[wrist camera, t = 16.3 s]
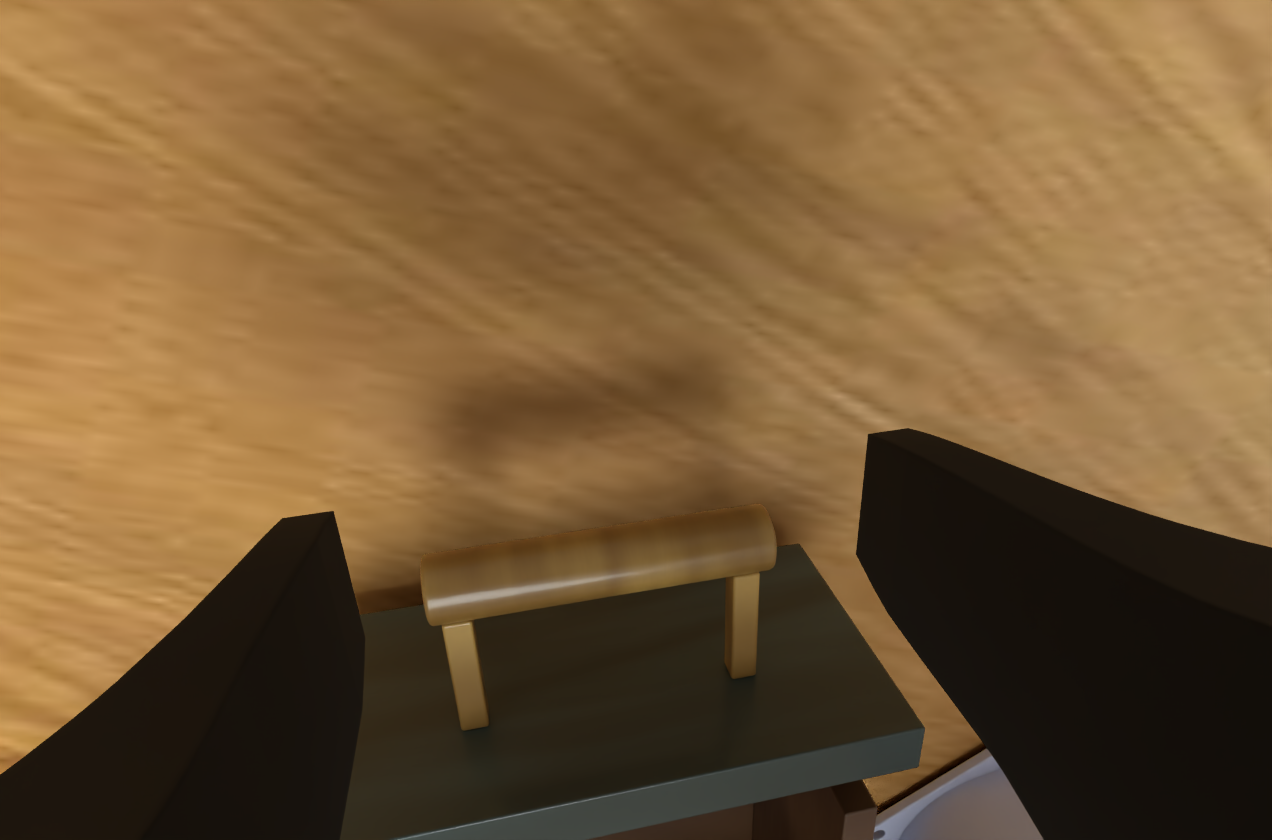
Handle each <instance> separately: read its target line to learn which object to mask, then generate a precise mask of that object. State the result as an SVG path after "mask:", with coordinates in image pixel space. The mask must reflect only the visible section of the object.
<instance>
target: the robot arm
mask: <svg viewBox="0 0 1272 840" xmlns="http://www.w3.org/2000/svg"><path fill="white" fill-rule="evenodd" d="M856 555H857V557H858V559H859V561H860V563H861V565H862V567H863V568H864V570H865V572H866V574H867V576H868V578H869V580H870V582H871V584H872V586H873V588H874V590H875V591H876V593H877V595H878V597H879V599H880V600H881V602H882V604H883V606H884V607H885V609H886V611H887V613H888V614H889V615H890V617H891V618H892V620H893V621H894V623H895V624H896V625H897V627H898V628H899V630H900V631H901V632H902V634H903V635H904V636H905V638H906V639H907V641H908V642H909V643H910V645H911V646H912V647H913V649H914V650H915V652H916V653H917V654H918V656H919V657H920V658H921V660H922V661H923V662H924V664H925V665H926V666H927V668H928V669H929V670H930V672H931V673H932V675H933V676H934V677H935V679H936V680H937V681H938V683H939V684H940V685H941V687H942V688H943V689H944V691H945V692H946V693H947V695H948V696H949V697H950V699H951V700H952V701H953V703H954V704H955V705H956V707H957V708H958V709H959V711H960V712H961V713H962V715H963V716H964V718H965V719H966V720H967V722H968V723H969V724H970V726H971V727H972V728H973V730H974V731H975V732H976V734H977V735H978V736H979V738H980V739H981V740H982V742H983V743H984V745H985V746H986V749H985V750H983V751H981V752H980V753H978V754H976V755H975V756H973V757H971V758H970V759H968V760H967V761H965V762H963V763H962V764H960V765H958V766H957V767H955V768H953V769H952V770H950V771H948V772H947V773H945V774H944V775H942V776H940V777H939V778H937V779H935V780H934V781H932V782H930V783H929V784H927V785H925V786H924V787H922V788H921V789H919V790H917V791H916V792H914V793H912V794H911V795H909V796H907V797H906V798H904V799H902V800H901V801H899V802H898V803H896V804H894V805H893V806H891V807H889V808H888V809H886V810H884V811H883V812H881V813H879V814H878V815H877V816H876V823H875V830H874V836H873V840H1272V548H1271V547H1267V546H1263V545H1259V544H1254V543H1250V542H1246V541H1242V540H1238V539H1235V538H1231V537H1227V536H1224V535H1220V534H1216V533H1213V532H1209V531H1205V530H1202V529H1198V528H1194V527H1191V526H1187V525H1183V524H1180V523H1176V522H1173V521H1170V520H1166V519H1163V518H1160V517H1157V516H1153V515H1150V514H1147V513H1144V512H1141V511H1138V510H1135V509H1132V508H1129V507H1126V506H1123V505H1120V504H1117V503H1114V502H1111V501H1108V500H1105V499H1102V498H1099V497H1096V496H1093V495H1091V494H1088V493H1085V492H1082V491H1080V490H1077V489H1074V488H1071V487H1069V486H1066V485H1063V484H1060V483H1058V482H1055V481H1052V480H1050V479H1047V478H1044V477H1042V476H1039V475H1037V474H1034V473H1031V472H1029V471H1026V470H1024V469H1021V468H1019V467H1016V466H1013V465H1011V464H1008V463H1006V462H1003V461H1001V460H998V459H995V458H993V457H990V456H988V455H985V454H983V453H980V452H977V451H975V450H972V449H970V448H967V447H964V446H962V445H959V444H956V443H954V442H951V441H948V440H945V439H942V438H940V437H937V436H934V435H931V434H927V433H924V432H921V431H917V430H913V429H909V428H907V429H900V430H893V431H886V432H879V433H872V434H868V441H867V451H866V461H865V470H864V480H863V490H862V500H861V510H860V520H859V530H858V540H857V550H856ZM364 665H365V634H364V630H363V626H362V622H361V618H360V614H359V610H358V606H357V602H356V598H355V594H354V591H353V587H352V583H351V579H350V575H349V571H348V567H347V563H346V559H345V555H344V551H343V547H342V543H341V539H340V535H339V531H338V527H337V523H336V519H335V515H334V511H330V512H323V513H316V514H309V515H302V516H295V517H288V518H282V519H281V520H280V521H279V522H278V523H277V524H276V525H275V526H274V527H273V528H272V529H271V530H270V531H269V532H268V533H267V534H266V535H265V536H264V537H263V538H262V539H261V540H260V541H259V542H258V543H257V544H256V545H255V546H254V547H253V548H252V549H251V551H250V552H249V553H248V554H247V555H246V556H245V557H244V558H243V559H242V560H241V561H240V562H239V563H238V564H237V565H236V566H235V567H234V568H233V570H232V571H231V572H230V573H229V574H228V575H227V576H226V577H225V578H224V579H223V580H222V581H221V582H220V583H219V584H218V585H217V586H216V587H215V588H214V589H213V590H212V591H211V592H210V593H209V594H208V595H207V596H206V597H205V598H204V599H203V600H202V601H201V602H200V603H199V604H198V605H197V606H196V607H195V608H194V609H193V610H192V612H191V613H190V614H189V615H188V616H187V617H186V618H185V619H184V620H183V621H181V622H180V623H179V624H178V625H177V626H176V627H175V628H174V629H173V630H172V631H171V632H170V633H169V634H168V635H166V636H165V637H164V638H163V639H162V640H161V641H160V642H159V643H158V644H157V645H156V646H155V647H154V648H152V649H151V650H150V651H149V652H148V653H147V654H146V655H145V656H144V657H143V658H142V659H141V660H140V661H138V662H137V663H136V664H135V665H134V666H133V667H132V668H131V669H130V670H129V671H128V672H127V673H126V674H124V675H123V676H122V677H121V678H120V679H119V680H118V681H117V682H116V683H115V684H113V685H112V686H111V687H110V688H109V689H108V690H106V691H105V692H104V693H103V694H102V695H101V696H100V697H98V698H97V699H96V700H95V701H94V702H92V703H91V704H90V705H89V706H88V707H86V708H85V709H84V710H83V711H82V712H80V713H79V714H78V715H77V716H76V717H74V718H73V719H72V720H71V721H69V722H68V723H67V724H66V725H64V726H63V727H62V728H60V729H59V730H58V731H57V732H55V733H54V734H53V735H52V736H50V737H49V738H48V739H46V740H45V741H44V742H43V743H41V744H40V745H39V746H38V747H36V748H35V749H34V750H32V751H31V752H30V753H29V754H27V755H26V756H25V757H23V758H22V759H21V760H19V761H18V762H17V763H15V764H14V765H13V766H11V767H10V768H9V769H7V770H6V771H5V772H3V773H2V774H0V840H340V835H341V830H342V824H343V819H344V813H345V807H346V802H347V796H348V791H349V785H350V779H351V774H352V768H353V762H354V756H355V751H356V745H357V739H358V733H359V727H360V721H361V715H362V708H363V689H364Z"/></svg>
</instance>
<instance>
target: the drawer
mask: <svg viewBox="0 0 1272 840" xmlns="http://www.w3.org/2000/svg"><path fill="white" fill-rule="evenodd" d="M420 572H421V588H422V596H423V603H424V604H423V605H417V606H411V607H405V608H399V609H393V610H387V611H380V612H374V613H368V614H362V615H360V618H361V622H362V626H363V630H364V634H365V665H364V689H363V708H362V715H361V721H360V727H359V733H358V739H357V745H356V751H355V756H354V762H353V768H352V774H351V779H350V785H349V791H348V796H347V802H346V807H345V813H344V819H343V824H342V830H341V835H340V840H873V836H874V830H875V823H876V816H877V806H876V804H875V802H874V800H873V798H872V797H871V795H870V793H869V791H868V789H867V788H866V786H865V784H864V782H863V780H862V779H867V778H871V777H876V776H880V775H885V774H890V773H894V772H899V771H903V770H908V769H912V768H917V767H918V766H919V761H920V755H921V749H922V744H923V738H924V732H925V727H924V726H923V724H922V723H921V721H920V720H919V718H918V717H917V715H916V714H915V712H914V711H913V709H912V708H911V707H910V705H909V704H908V702H907V701H906V699H905V698H904V696H903V695H902V693H901V692H900V690H899V689H898V687H897V686H896V685H895V683H894V682H893V680H892V679H891V677H890V676H889V674H888V673H887V671H886V670H885V668H884V667H883V665H882V664H881V663H880V661H879V660H878V658H877V657H876V655H875V654H874V652H873V651H872V649H871V648H870V646H869V645H868V643H867V642H866V641H865V639H864V638H863V636H862V635H861V633H860V632H859V630H858V629H857V627H856V626H855V624H854V623H853V621H852V620H851V619H850V617H849V616H848V614H847V613H846V611H845V610H844V608H843V607H842V605H841V604H840V602H839V601H838V600H837V598H836V597H835V595H834V594H833V592H832V591H831V589H830V588H829V586H828V585H827V583H826V582H825V580H824V579H823V578H822V576H821V575H820V573H819V572H818V570H817V569H816V567H815V566H814V564H813V563H812V561H811V560H810V558H809V557H808V556H807V554H806V553H805V551H804V550H803V548H802V547H801V545H800V544H792V545H786V546H780V547H777V544H776V536H775V531H774V527H773V523H772V521H771V518H770V516H769V514H768V512H767V510H766V508H765V507H764V506H763V505H761V504H751V505H744V506H738V507H731V508H725V509H718V510H711V511H705V512H698V513H692V514H685V515H679V516H672V517H666V518H659V519H652V520H646V521H639V522H633V523H626V524H620V525H613V526H606V527H600V528H593V529H587V530H580V531H574V532H567V533H560V534H554V535H547V536H541V537H534V538H528V539H521V540H514V541H508V542H501V543H495V544H488V545H482V546H475V547H469V548H462V549H455V550H449V551H442V552H436V553H429V554H425V555H423V556H422V559H421V567H420Z"/></svg>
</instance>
